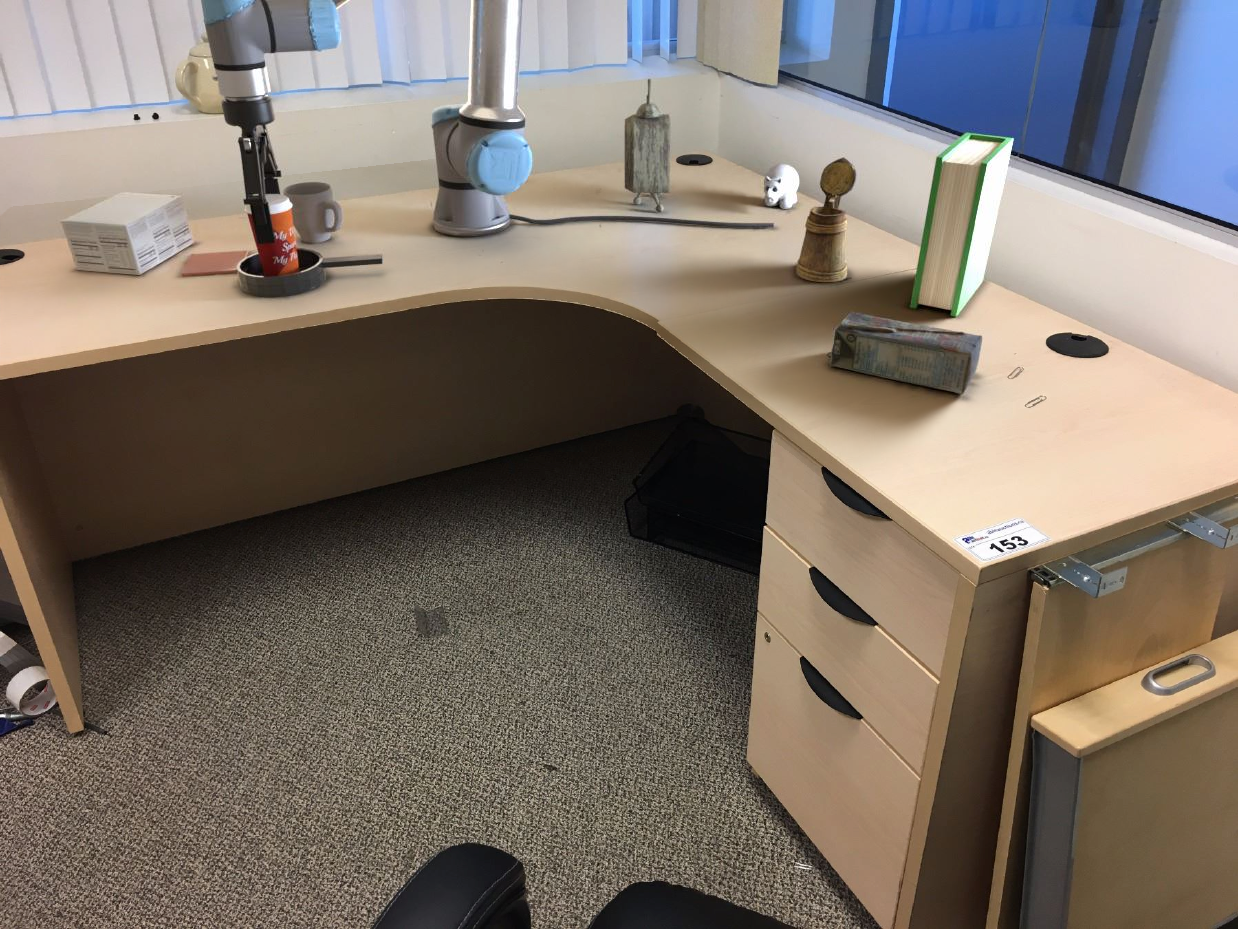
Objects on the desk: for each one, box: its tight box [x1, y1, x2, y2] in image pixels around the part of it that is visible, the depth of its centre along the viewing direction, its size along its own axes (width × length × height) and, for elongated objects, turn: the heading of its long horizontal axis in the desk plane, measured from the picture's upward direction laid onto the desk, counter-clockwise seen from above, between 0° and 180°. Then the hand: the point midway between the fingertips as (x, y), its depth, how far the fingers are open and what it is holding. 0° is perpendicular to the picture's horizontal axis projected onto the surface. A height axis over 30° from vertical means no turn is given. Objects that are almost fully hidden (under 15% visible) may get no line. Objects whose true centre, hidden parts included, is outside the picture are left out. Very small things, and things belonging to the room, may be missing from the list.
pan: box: [236, 247, 327, 298], centre depth 162 cm, size 14×14×4 cm
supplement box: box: [60, 191, 195, 276], centre depth 171 cm, size 17×13×9 cm
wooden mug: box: [795, 157, 857, 283], centre depth 163 cm, size 9×14×18 cm, turn 157°
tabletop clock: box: [624, 78, 671, 213], centre depth 193 cm, size 14×9×25 cm, turn 179°
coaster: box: [180, 250, 249, 277], centre depth 170 cm, size 10×10×1 cm
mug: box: [282, 181, 344, 244], centre depth 179 cm, size 12×9×10 cm
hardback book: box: [909, 132, 1015, 318], centre depth 151 cm, size 18×7×24 cm, turn 149°
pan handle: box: [323, 253, 384, 269], centre depth 164 cm, size 10×2×1 cm, turn 101°
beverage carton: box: [830, 311, 983, 395], centre depth 132 cm, size 8×19×7 cm, turn 61°
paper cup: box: [243, 193, 299, 276], centre depth 159 cm, size 8×8×14 cm
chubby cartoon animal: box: [763, 163, 800, 210], centre depth 195 cm, size 7×12×8 cm, turn 152°
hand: (271, 229), depth 158 cm, fingers open, 13 cm apart
